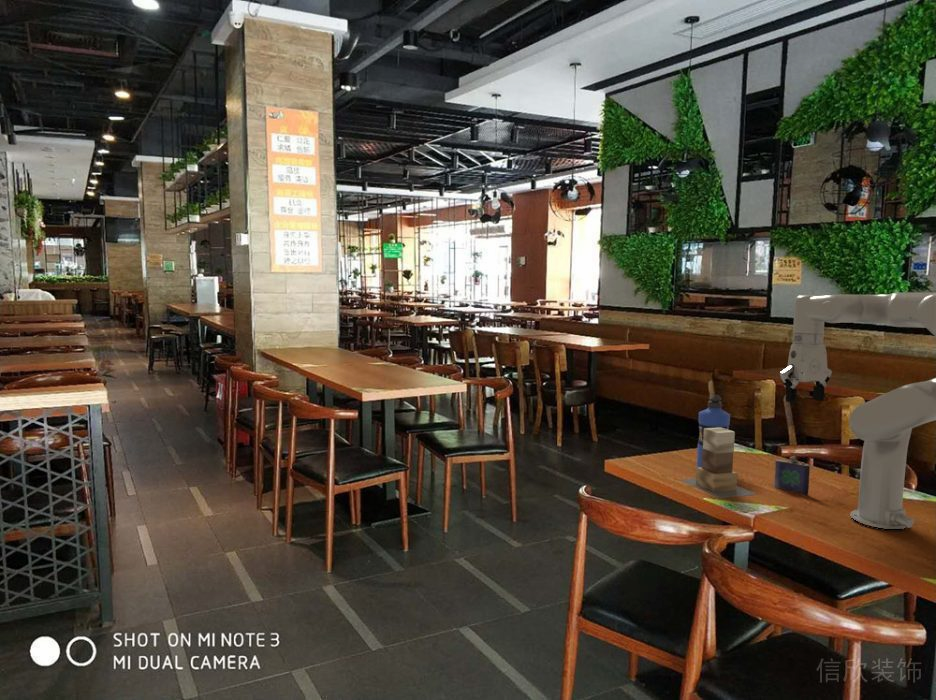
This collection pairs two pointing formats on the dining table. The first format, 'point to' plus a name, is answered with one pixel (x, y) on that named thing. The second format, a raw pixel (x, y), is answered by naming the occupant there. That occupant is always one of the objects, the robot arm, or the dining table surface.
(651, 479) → the dining table surface
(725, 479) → the base block
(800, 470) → the flask
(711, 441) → the birch cube
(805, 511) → the dining table surface
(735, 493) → the slate board
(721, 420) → the water bottle
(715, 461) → the walnut cube
